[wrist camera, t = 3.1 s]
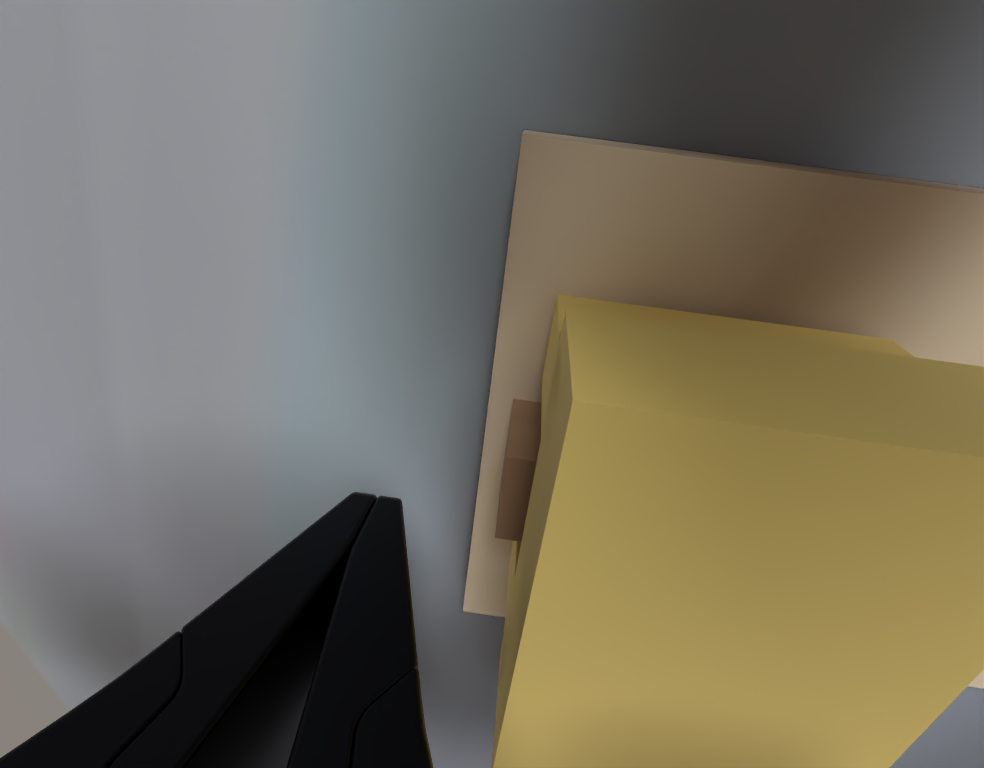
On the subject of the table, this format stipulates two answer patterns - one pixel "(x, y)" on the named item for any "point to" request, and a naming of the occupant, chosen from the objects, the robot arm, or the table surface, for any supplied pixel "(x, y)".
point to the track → (710, 278)
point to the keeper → (740, 547)
